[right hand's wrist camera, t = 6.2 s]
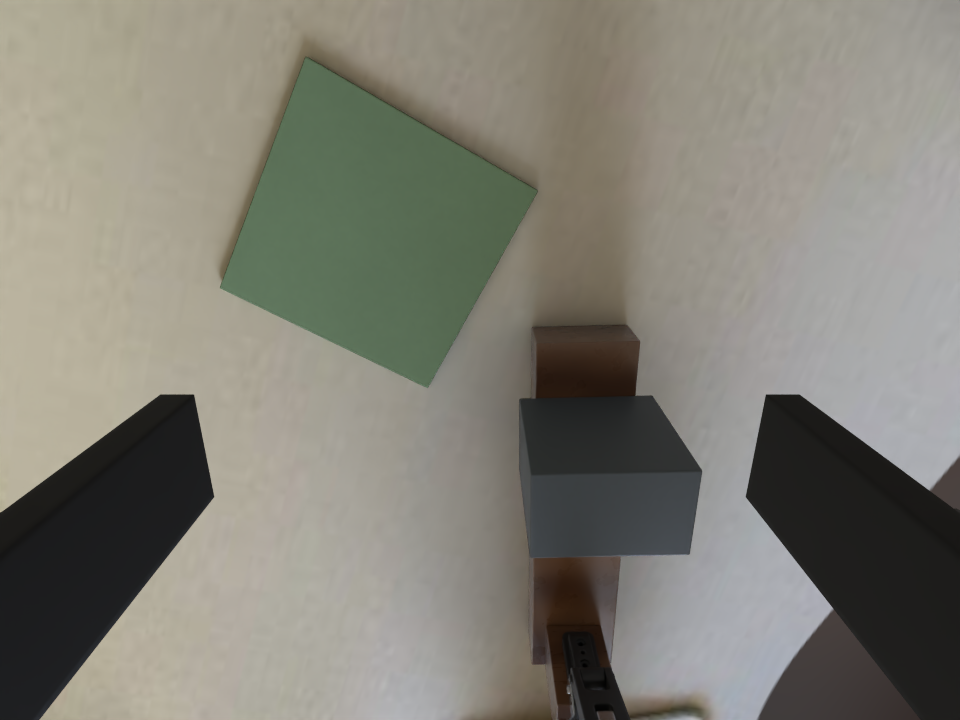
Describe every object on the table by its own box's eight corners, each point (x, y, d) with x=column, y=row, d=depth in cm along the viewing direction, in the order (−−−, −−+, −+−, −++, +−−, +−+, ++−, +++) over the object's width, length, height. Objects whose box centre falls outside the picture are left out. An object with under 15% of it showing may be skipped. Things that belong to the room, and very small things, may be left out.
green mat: (307, 57, 29) (305, 56, 28) (537, 190, 31) (538, 190, 31) (222, 286, 33) (219, 288, 33) (428, 385, 36) (427, 388, 35)
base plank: (531, 326, 34) (548, 388, 26) (627, 324, 34) (674, 385, 26) (528, 631, 44) (539, 746, 36) (602, 630, 44) (631, 745, 36)
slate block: (519, 398, 33) (530, 474, 25) (652, 395, 33) (703, 470, 25) (519, 468, 35) (529, 558, 27) (645, 465, 35) (690, 555, 27)
